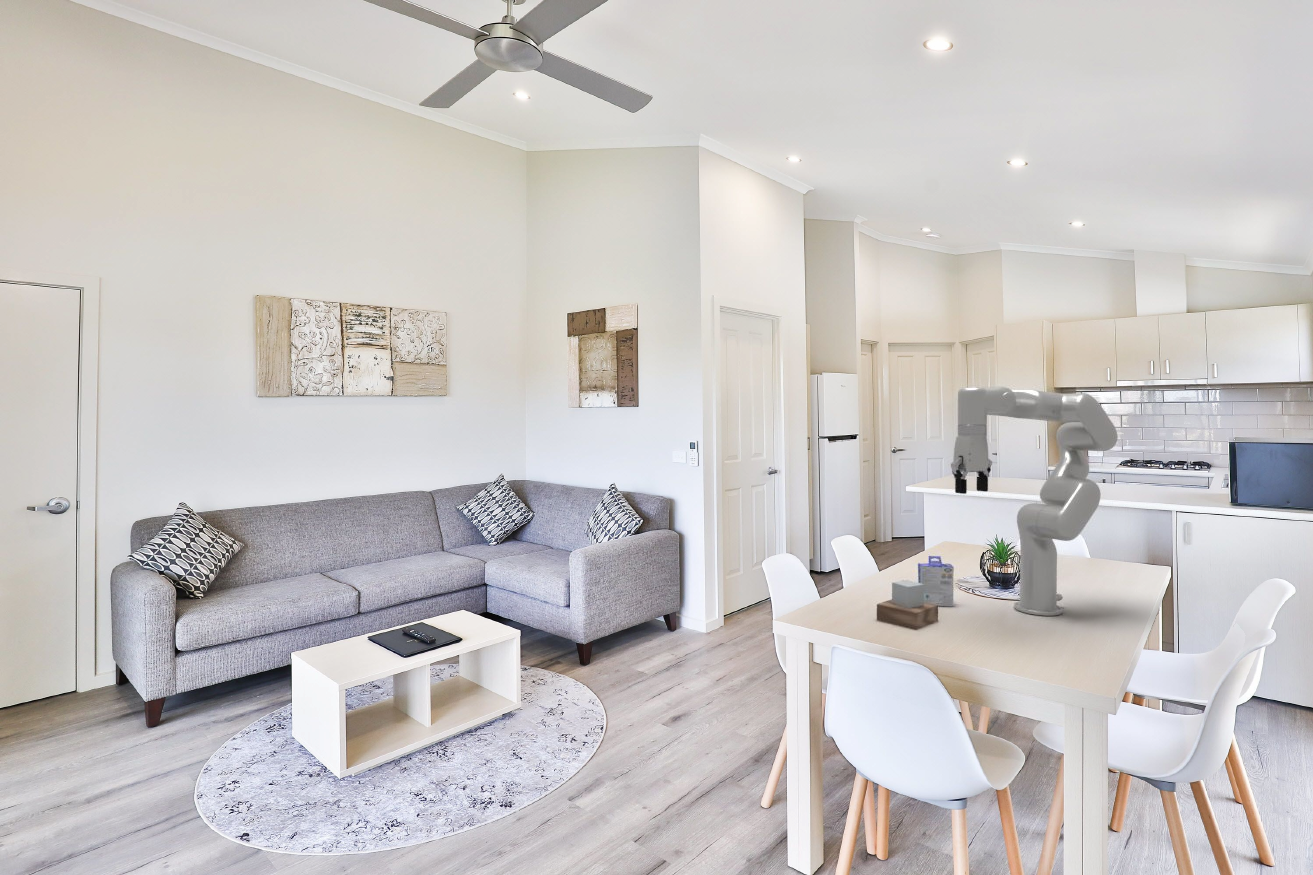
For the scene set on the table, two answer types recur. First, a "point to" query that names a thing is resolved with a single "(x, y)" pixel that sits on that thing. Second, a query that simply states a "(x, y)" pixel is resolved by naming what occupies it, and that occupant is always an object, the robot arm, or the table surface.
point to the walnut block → (907, 614)
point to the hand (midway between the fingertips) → (971, 492)
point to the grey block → (908, 594)
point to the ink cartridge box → (936, 581)
